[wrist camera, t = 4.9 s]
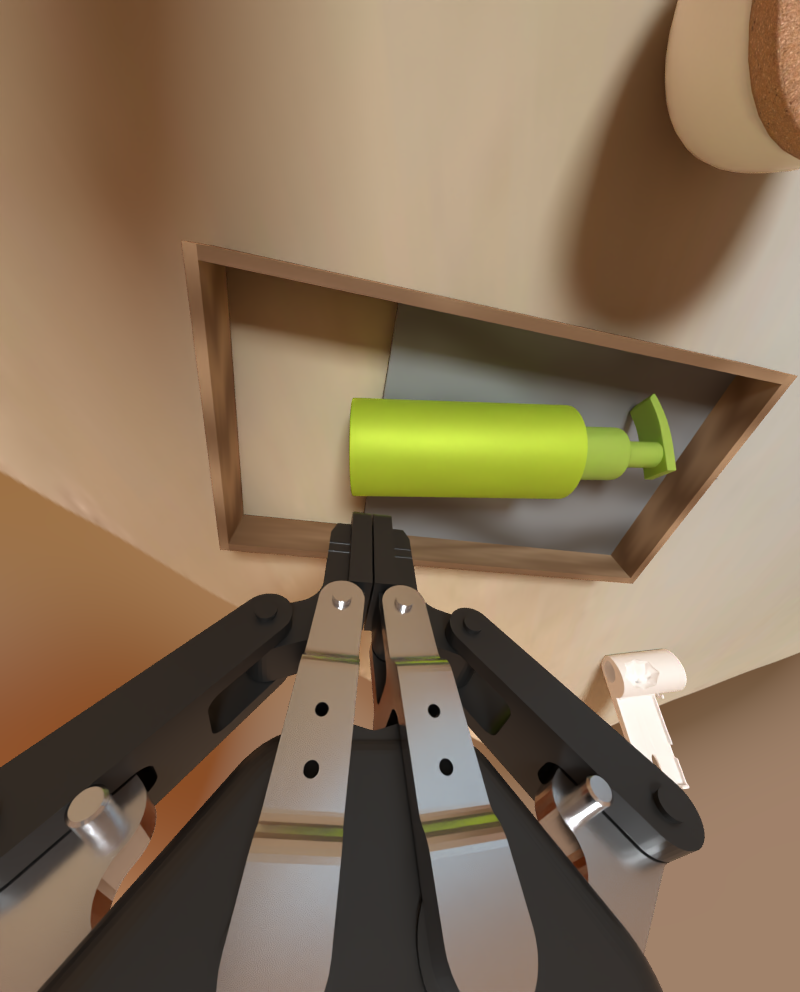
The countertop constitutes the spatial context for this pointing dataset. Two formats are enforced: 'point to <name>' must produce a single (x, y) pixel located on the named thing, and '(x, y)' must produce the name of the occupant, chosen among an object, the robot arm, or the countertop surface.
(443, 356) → the wooden tray
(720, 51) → the lidded jar
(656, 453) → the soap dispenser
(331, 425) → the countertop surface
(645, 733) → the plastic part
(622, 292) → the countertop surface
